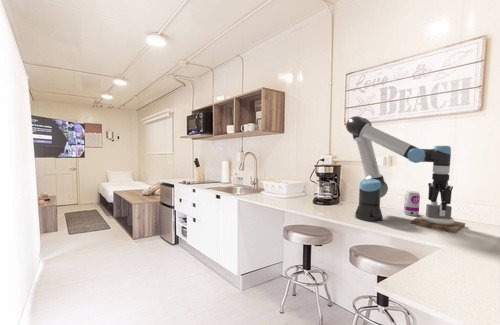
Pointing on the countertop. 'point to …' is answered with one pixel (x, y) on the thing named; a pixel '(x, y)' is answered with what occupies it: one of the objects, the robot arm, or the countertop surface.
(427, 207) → the dial
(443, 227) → the dial base
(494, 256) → the countertop surface
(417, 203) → the supplement can
